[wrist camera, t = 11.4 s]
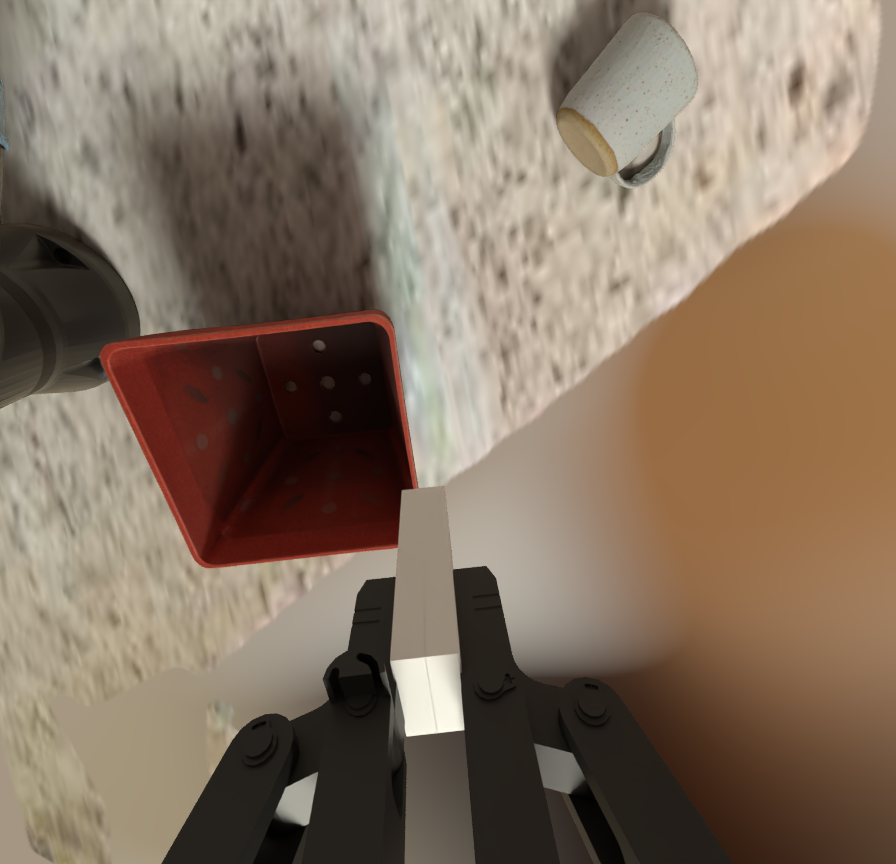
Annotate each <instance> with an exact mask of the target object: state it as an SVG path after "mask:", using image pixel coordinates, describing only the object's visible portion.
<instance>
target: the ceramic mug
mask: <svg viewBox="0 0 896 864" xmlns="http://www.w3.org/2000/svg"><path fill="white" fill-rule="evenodd" d="M697 87H698V75H697V70H696V66H695V63H694V59H693V57H692V55H691V53H690V51H689V49H688V47H687V45H686V43H685V42H684V40H683V39H682V38H681V37H680V35H679V34H678V33H677V32H676V30H675V29H674V28H673V27H672V26H671V25H670V24H669V23H668V22H667V21H666V20H664V19H663V18H661V17H659V16H657V15H654V14H652V13H648V12H638V13H636V14H634V15H632V16H631V17H630V18H629V19H628V20H627V21H626V22H625V23H624V24H623V26H622V27H621V28H620V30H619V31H618V32H617V33H616V35H615V36H614V37H613V38H612V40H611V41H610V42H609V43H608V45H607V46H606V47H605V48H604V50H603V51H602V52H601V53H600V55H599V56H598V57H597V58H596V60H595V61H594V62H593V64H592V65H591V66H590V67H589V69H588V70H587V71H586V72H585V74H584V75H583V76H582V77H581V79H580V80H579V81H578V82H577V83H576V85H575V86H574V87H573V88H572V90H571V91H570V92H569V93H568V95H567V97H566V98H565V100H564V102H563V103H562V105H561V106H560V108H559V111H558V113H557V128H558V131H559V133H560V135H561V137H562V139H563V141H564V142H565V144H566V145H567V147H568V148H569V150H570V151H571V152H572V153H573V155H574V156H575V157H576V158H577V159H578V160H579V161H580V162H581V163H582V164H583V165H584V166H585V167H586V168H588V169H589V170H590V171H592V172H593V173H595V174H597V175H599V176H602V177H608V176H609V177H610V178H611V179H612V180H613V181H614V182H615V183H617V184H619V185H621V186H623V187H625V188H638V187H642V186H643V185H645V184H647V183H648V182H650V181H651V180H652V179H654V178H655V177H656V176H657V175H658V174H659V173H660V172H661V170H662V169H663V168H664V166H665V165H666V163H667V162H668V160H669V158H670V156H671V153H672V150H673V146H674V142H675V133H676V127H675V117H676V116H677V115H678V114H679V113H680V112H681V111H682V110H683V109H684V108H685V107H686V106H687V105H688V104H689V103H690V102H691V101H692V99H693V98H694V96H695V94H696V91H697ZM661 131H662V139H661V143H660V147H659V149H658V152H657V154H656V156H655V157H654V159H653V160H652V161H651V162H650V163H649V164H648V165H647V166H646V167H645V168H644V169H643V170H641V171H640V172H639V173H637V174H635V175H634V176H633V177H632V179H630V180H623V178H622V177H621V176H620V174H619V173H618V172H619V171H620V170H622V169H623V168H624V167H625V166H627V165H628V164H629V163H630V162H631V161H632V160H633V159H634V158H635V157H636V156H637V155H638V154H639V153H640V152H641V151H642V150H643V148H644V147H645V146H646V145H647V144H648V143H649V142H650V141H651V140H652V139H653V138H654V137H655V136H656V135H658V134H659V133H660V132H661Z"/></svg>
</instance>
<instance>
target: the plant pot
mask: <svg viewBox="0 0 896 864" xmlns="http://www.w3.org/2000/svg"><path fill="white" fill-rule="evenodd" d="M316 340H321V341H323V342H324V344H325V345H326V349H325V351H324V352H323V353H317V352H315V351H314V349H313V347H312V345H313V342H314V341H316ZM100 359H101V362H102V365H103V367H104V370H105V372H106V374H107V376H108V379H109V381H110V383H111V385H112V387H113V389H114V392H115V394H116V396H117V398H118V400H119V402H120V404H121V406H122V409H123V411H124V413H125V415H126V417H127V419H128V421H129V423H130V425H131V427H132V429H133V431H134V434H135V436H136V438H137V440H138V442H139V444H140V447H141V449H142V451H143V453H144V455H145V457H146V459H147V461H148V463H149V465H150V467H151V470H152V472H153V474H154V476H155V478H156V480H157V482H158V484H159V486H160V488H161V490H162V492H163V494H164V497H165V499H166V501H167V503H168V505H169V508H170V510H171V512H172V514H173V516H174V518H175V520H176V522H177V524H178V526H179V529H180V531H181V533H182V535H183V537H184V539H185V542H186V544H187V546H188V548H189V550H190V552H191V554H192V556H193V558H194V560H195V561H196V562H197V563H198V564H199V565H201V566H202V567H205V568H220V567H230V566H238V565H247V564H256V563H265V562H274V561H282V560H291V559H299V558H309V557H317V556H326V555H335V554H344V553H353V552H363V551H372V550H383V549H393V548H398V538H399V524H400V510H401V495H402V490H409V489H419V488H418V482H417V476H416V470H415V463H414V457H413V451H412V445H411V438H410V432H409V426H408V419H407V413H406V406H405V399H404V393H403V386H402V380H401V373H400V366H399V359H398V352H397V345H396V339H395V332H394V327H393V324H392V321H391V320H390V318H389V317H388V316H387V315H386V314H385V313H384V312H382V311H380V310H375V309H373V310H365V311H357V312H350V313H342V314H334V315H326V316H318V317H310V318H302V319H293V320H285V321H276V322H267V323H258V324H248V325H237V326H226V327H215V328H204V329H192V330H182V331H174V332H167V333H159V334H152V335H145V336H139V337H134V338H129V339H124V340H119V341H115V342H111V343H108V344H106V345H105V346H104V347H103V348H102V350H101V352H100ZM362 373H367V374H368V375H369V376H370V378H371V381H370V383H369V384H367V385H362V384H361V383H360V382H359V380H358V377H359V376H360V375H361V374H362ZM325 376H329V377H332V378H333V379H334V381H335V386H334V388H333V389H331V390H326V389H324V388H322V387H321V385H320V381H321V379H322V378H323V377H325ZM287 381H293V382H295V383H296V385H297V390H296V391H295V392H294V393H289V392H287V391H286V390H285V388H284V384H285V382H287ZM333 411H337V412H339V413H340V414H341V416H342V418H341V421H339V422H333V421H331V420H330V418H329V416H330V414H331V412H333Z"/></svg>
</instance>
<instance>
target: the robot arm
mask: <svg viewBox="0 0 896 864" xmlns="http://www.w3.org/2000/svg"><path fill="white" fill-rule="evenodd" d="M4 149H6V150H9V141H8V139H7V138H6V137H5V119H4V87H3V83H2V79H1V77H0V408H2V407H5V406H7V405H9V404H11V403H13V402H15V401H17V400H20V399H21V398H24V397H26V396H28V395H31V394H46V393H62V392H76V391H82V390H87V389H90V388H94V387H96V386H99V385H101V384H103V383H105V382H107V381H109V379H108V376H107V374H106V372H105V370H104V367H103V365H102V362H101V359H100V352H101V350H102V348H103V347H104V346H105V345H106V344H108V343H111V342H115V341H119V340H124V339H129V338H134V337H139V336H140V323H139V317H138V313H137V310H136V307H135V304H134V301H133V299H132V297H131V295H130V293H129V291H128V289H127V288H126V286H125V284H124V283H123V281H122V280H121V278H120V277H119V276H118V275H117V273H116V272H115V271H114V270H113V269H112V267H111V266H110V265H109V264H108V263H107V262H106V261H105V260H104V259H103V258H102V257H100V256H99V255H98V254H97V253H96V252H94V251H93V250H92V249H90V248H89V247H88V246H86V245H85V244H83V243H81V242H80V241H78V240H76V239H75V238H73V237H71V236H69V235H66V234H64V233H62V232H59V231H57V230H54V229H50V228H47V227H43V226H37V225H29V224H1V212H2V188H3V163H4ZM352 624H353V626H352V628H351V634H350V640H349V646H348V651H346V652H345V653H343V654H342V655H340V656H338V657H337V658H335V660H334V661H333V662H332V663H331V664H330V665H329V667H328V668H327V670H326V672H325V675H324V677H323V681H324V685H325V688H326V691H327V694H328V697H329V700H328V701H327V702H326V703H325V704H323V705H322V706H321V707H319V708H317V709H315V710H313V711H311V712H309V713H307V714H305V715H302V716H300V717H298V718H296V719H294V720H291V721H289V720H288V719H287V718H286V717H284V716H282V715H279V714H265V715H263V716H260V717H258V718H256V719H253V720H252V721H251V722H249V723H248V724H247V725H246V726H244V727H243V728H242V729H241V730H240V731H239V732H238V734H237V735H236V736H235V738H234V739H233V740H232V742H231V743H230V745H229V747H228V749H227V750H226V752H225V754H224V756H223V757H222V759H221V761H220V763H219V764H218V766H217V768H216V770H215V771H214V773H213V775H212V776H211V778H210V780H209V782H208V784H207V785H206V787H205V789H204V791H203V792H202V794H201V796H200V797H199V799H198V801H197V803H196V805H195V806H194V808H193V810H192V811H191V813H190V815H189V817H188V818H187V820H186V822H185V824H184V825H183V827H182V829H181V830H180V832H179V834H178V836H177V837H176V839H175V841H174V843H173V845H172V846H171V848H170V850H169V851H168V853H167V855H166V857H165V858H164V860H163V862H162V864H404V863H405V817H406V813H405V812H406V773H407V764H406V757H405V751H404V731H405V732H406V736H415V735H424V734H433V733H441V732H450V731H459V730H465V742H466V754H467V765H468V778H469V790H470V800H471V801H470V802H471V812H472V825H473V837H474V849H475V862H476V864H560V862H559V857H558V852H557V847H556V843H555V838H554V833H553V829H552V824H551V820H550V815H549V811H548V806H547V801H546V797H545V792H544V787H546V788H550V789H553V790H557V791H560V792H561V793H562V796H563V798H564V800H565V802H566V804H567V806H568V808H569V811H570V813H571V815H572V817H573V819H574V822H575V824H576V826H577V828H578V830H579V832H580V835H581V837H582V839H583V841H584V843H585V845H586V848H587V850H588V852H589V854H590V856H591V859H592V861H593V862H594V864H733V862H732V861H731V860H730V858H729V856H728V855H727V853H726V852H725V851H724V849H723V848H722V846H721V845H720V843H719V842H718V841H717V839H716V837H715V836H714V835H713V833H712V832H711V830H710V829H709V827H708V826H707V824H706V823H705V821H704V820H703V818H702V817H701V815H700V814H699V813H698V811H697V810H696V808H695V807H694V805H693V804H692V802H691V801H690V799H689V798H688V796H687V795H686V793H685V792H684V790H683V789H682V788H681V786H680V785H679V783H678V782H677V780H676V779H675V777H674V776H673V774H672V773H671V771H670V770H669V769H668V767H667V766H666V764H665V763H664V761H663V760H662V758H661V757H660V755H659V754H658V752H657V751H656V750H655V748H654V747H653V745H652V744H651V742H650V741H649V739H648V738H647V736H646V735H645V733H644V732H643V730H642V729H641V727H640V726H639V724H638V723H637V722H636V720H635V719H634V717H633V716H632V714H631V713H630V711H629V710H628V708H627V707H626V706H625V704H624V703H623V701H622V700H621V698H620V697H619V696H618V695H617V694H616V692H615V691H614V690H613V689H612V688H611V687H610V686H608V685H607V684H605V683H603V682H601V681H600V680H597V679H592V678H587V677H584V678H577V679H573V680H572V681H570V682H569V683H567V684H566V685H565V686H564V687H563V688H561V687H557V686H552V685H547V684H543V683H540V682H537V681H534V680H533V679H531V678H529V677H528V676H526V675H525V674H524V673H523V672H522V671H521V670H520V669H519V668H518V666H517V665H516V663H515V661H514V658H513V655H512V652H511V647H510V642H509V637H508V633H507V628H506V623H505V618H504V614H503V609H502V604H501V599H500V596H499V590H498V586H497V581H496V578H495V576H494V575H493V574H492V573H491V571H490V570H489V569H488V568H487V566H482V567H472V568H463V569H454V570H453V561H452V550H451V541H450V531H449V522H448V513H447V504H446V495H445V486H438V487H428V488H419V489H409V490H402V495H401V510H400V524H399V538H398V553H397V568H396V577H390V578H381V579H372V580H366V582H365V583H364V585H363V587H362V588H361V590H360V591H359V593H358V594H357V599H356V605H355V613H354V617H353V622H352Z"/></svg>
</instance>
